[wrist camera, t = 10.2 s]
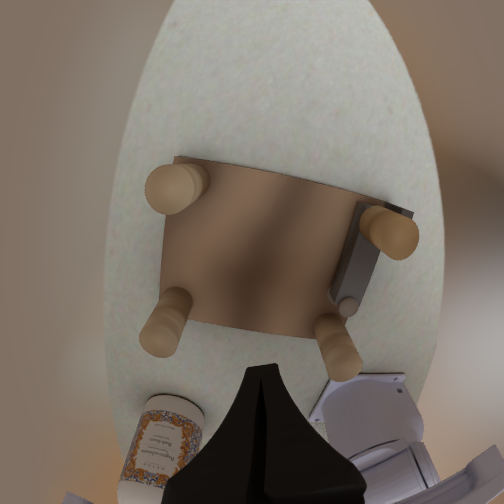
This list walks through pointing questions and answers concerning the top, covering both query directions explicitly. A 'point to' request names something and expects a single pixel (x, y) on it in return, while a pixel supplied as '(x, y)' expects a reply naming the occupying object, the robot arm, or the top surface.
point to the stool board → (251, 256)
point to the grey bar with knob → (370, 252)
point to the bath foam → (160, 448)
